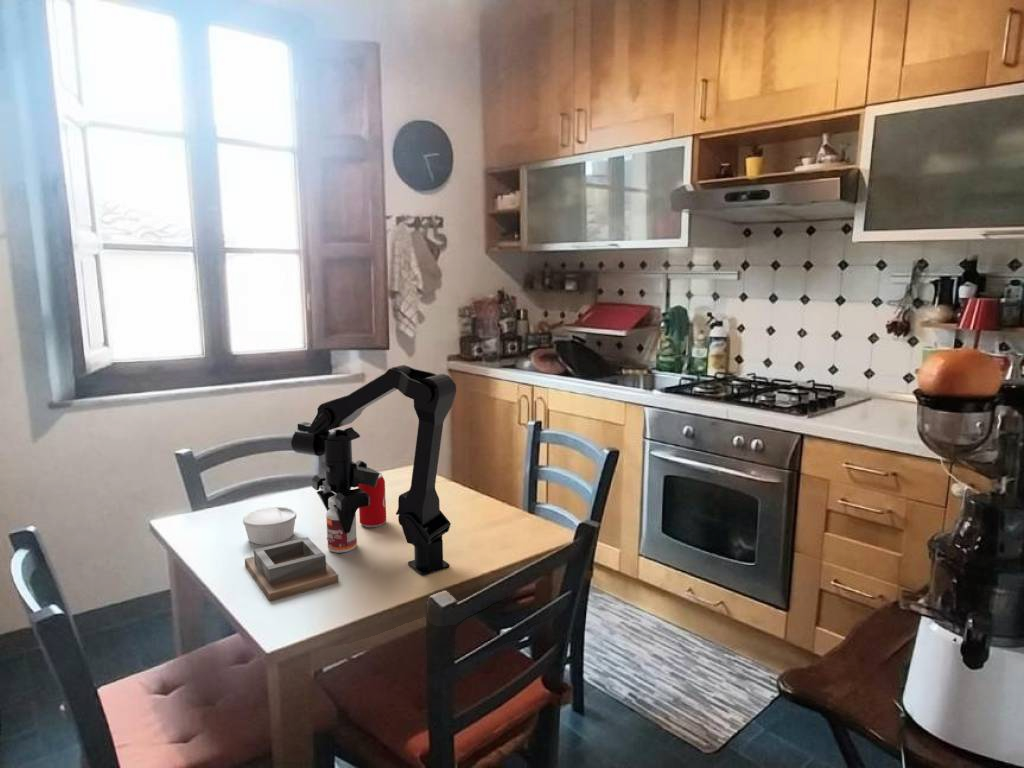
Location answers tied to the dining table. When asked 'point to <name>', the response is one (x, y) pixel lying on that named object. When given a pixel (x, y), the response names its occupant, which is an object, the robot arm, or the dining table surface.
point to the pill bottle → (339, 531)
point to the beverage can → (374, 504)
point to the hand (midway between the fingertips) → (341, 527)
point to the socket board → (290, 568)
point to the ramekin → (270, 525)
